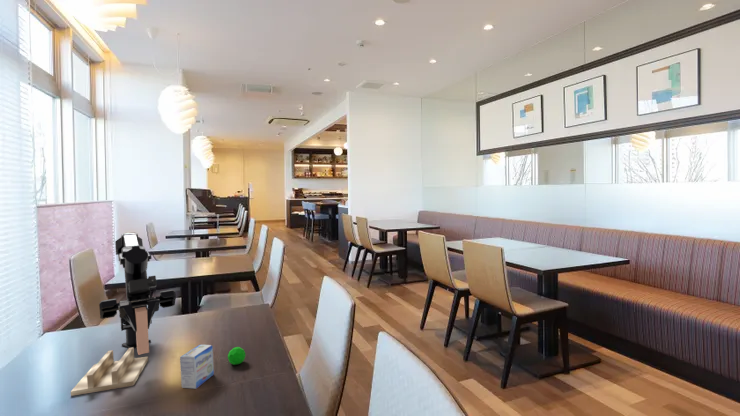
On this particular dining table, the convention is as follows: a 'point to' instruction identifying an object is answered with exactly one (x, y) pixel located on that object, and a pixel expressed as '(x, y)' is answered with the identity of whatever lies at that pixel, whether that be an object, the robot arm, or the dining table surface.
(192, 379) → the medicine box
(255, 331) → the dining table surface
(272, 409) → the dining table surface
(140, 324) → the pink rectangular block
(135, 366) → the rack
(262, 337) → the dining table surface
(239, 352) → the polyhedron
